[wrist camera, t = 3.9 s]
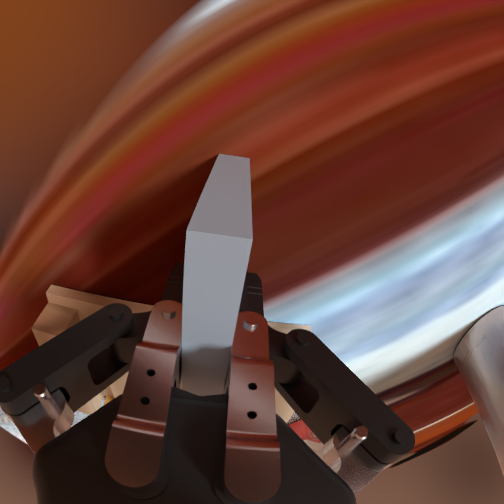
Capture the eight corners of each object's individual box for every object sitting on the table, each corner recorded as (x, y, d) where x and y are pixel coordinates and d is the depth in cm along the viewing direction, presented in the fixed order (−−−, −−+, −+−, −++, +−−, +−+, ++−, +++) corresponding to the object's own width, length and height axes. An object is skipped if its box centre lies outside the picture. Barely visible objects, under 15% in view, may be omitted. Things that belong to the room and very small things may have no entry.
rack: (310, 325, 21) (319, 368, 18) (269, 414, 28) (271, 446, 25) (51, 284, 19) (27, 317, 16) (86, 384, 26) (75, 413, 23)
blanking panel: (249, 158, 15) (252, 239, 7) (225, 305, 20) (216, 426, 12) (219, 153, 15) (186, 230, 7) (201, 302, 20) (182, 422, 12)
